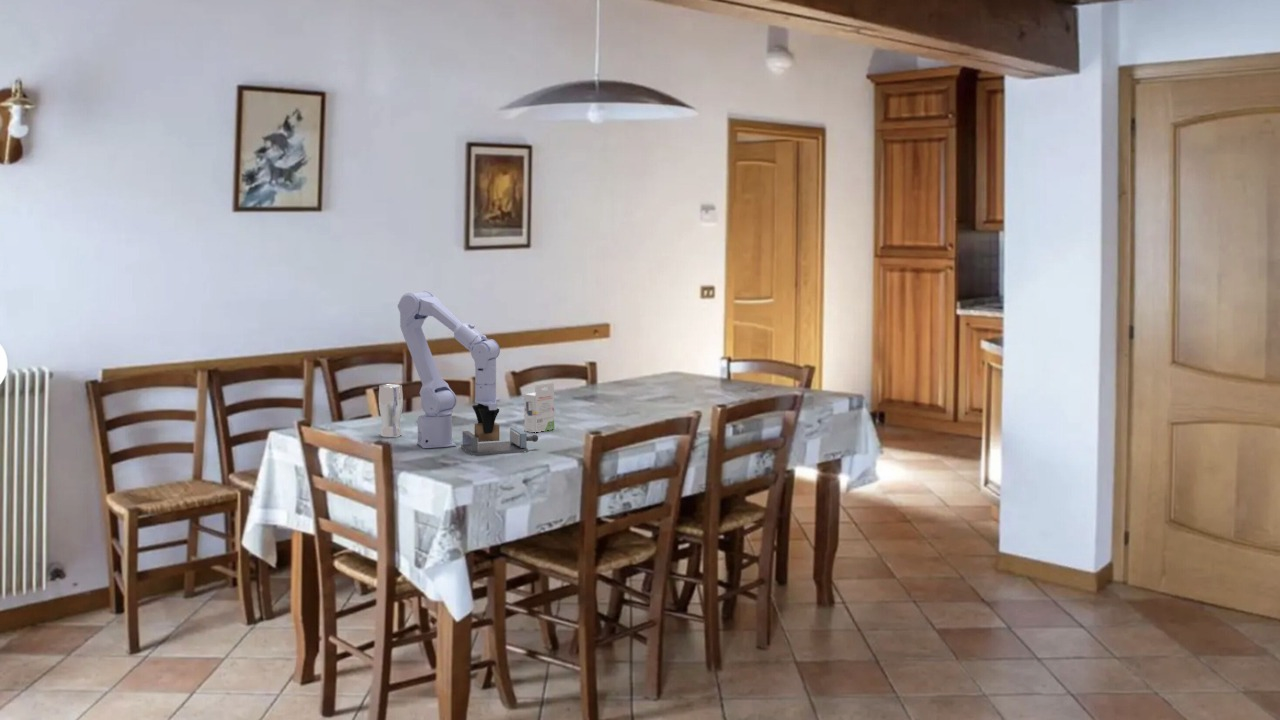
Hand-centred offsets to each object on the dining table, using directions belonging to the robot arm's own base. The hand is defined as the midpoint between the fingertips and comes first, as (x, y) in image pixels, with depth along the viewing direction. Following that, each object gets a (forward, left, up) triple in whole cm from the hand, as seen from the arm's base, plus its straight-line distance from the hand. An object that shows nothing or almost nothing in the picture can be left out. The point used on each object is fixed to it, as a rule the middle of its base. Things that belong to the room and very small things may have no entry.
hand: (485, 431), depth 318 cm
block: (0, 0, -2) cm, 2 cm away
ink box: (+23, +23, -6) cm, 33 cm away
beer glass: (-21, +29, -5) cm, 36 cm away
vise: (+2, 0, -5) cm, 6 cm away
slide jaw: (+11, 0, -4) cm, 12 cm away
